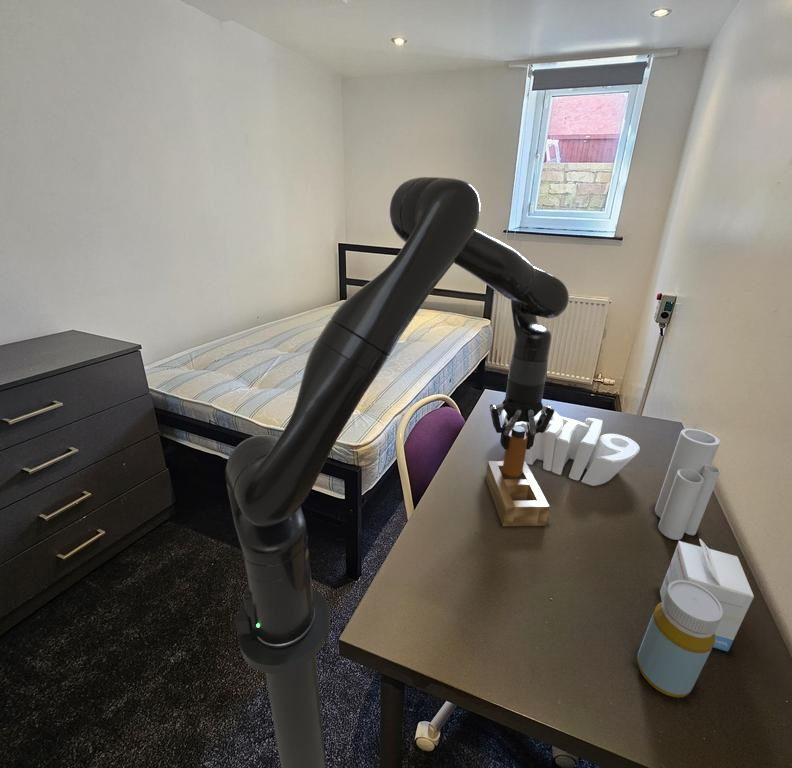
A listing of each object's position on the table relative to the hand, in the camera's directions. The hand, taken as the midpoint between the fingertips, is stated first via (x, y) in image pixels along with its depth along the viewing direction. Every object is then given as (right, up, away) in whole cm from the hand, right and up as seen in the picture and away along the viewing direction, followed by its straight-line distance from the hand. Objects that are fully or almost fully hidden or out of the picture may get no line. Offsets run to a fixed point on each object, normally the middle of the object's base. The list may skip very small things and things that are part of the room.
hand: (515, 447), depth 91 cm
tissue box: (+23, -25, -24) cm, 41 cm away
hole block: (0, -12, +1) cm, 12 cm away
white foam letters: (+16, -6, +18) cm, 25 cm away
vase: (+33, -16, -3) cm, 37 cm away
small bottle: (0, -6, +2) cm, 6 cm away
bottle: (+13, -28, -32) cm, 45 cm away
